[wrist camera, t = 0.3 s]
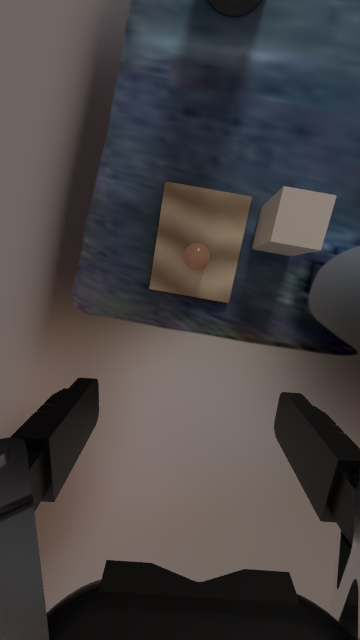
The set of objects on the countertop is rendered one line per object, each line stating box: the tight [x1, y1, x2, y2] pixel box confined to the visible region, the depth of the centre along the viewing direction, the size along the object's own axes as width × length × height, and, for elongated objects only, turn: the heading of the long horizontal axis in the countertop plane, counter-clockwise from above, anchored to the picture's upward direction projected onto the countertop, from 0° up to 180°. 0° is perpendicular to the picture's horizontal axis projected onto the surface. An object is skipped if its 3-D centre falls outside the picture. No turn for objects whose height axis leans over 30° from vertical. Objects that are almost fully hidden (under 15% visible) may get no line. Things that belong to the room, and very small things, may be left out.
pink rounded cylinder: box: [184, 243, 209, 270], centre depth 34 cm, size 4×4×4 cm
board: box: [149, 181, 252, 303], centre depth 36 cm, size 16×13×1 cm
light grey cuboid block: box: [252, 186, 336, 256], centre depth 31 cm, size 6×6×8 cm
